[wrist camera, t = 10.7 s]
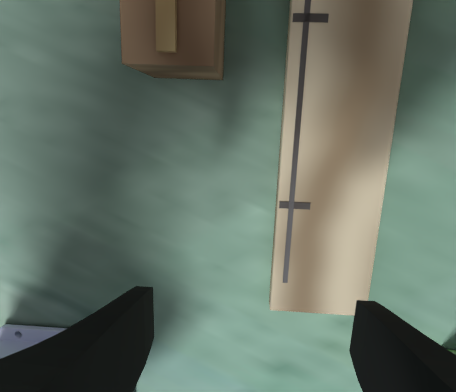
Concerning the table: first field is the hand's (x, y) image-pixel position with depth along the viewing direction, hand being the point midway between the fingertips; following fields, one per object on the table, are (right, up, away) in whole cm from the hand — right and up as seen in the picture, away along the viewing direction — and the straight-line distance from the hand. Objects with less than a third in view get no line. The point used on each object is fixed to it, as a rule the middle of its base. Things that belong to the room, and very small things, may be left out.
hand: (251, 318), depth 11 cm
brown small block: (-3, +14, +7) cm, 16 cm away
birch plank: (+5, +9, +7) cm, 13 cm away
